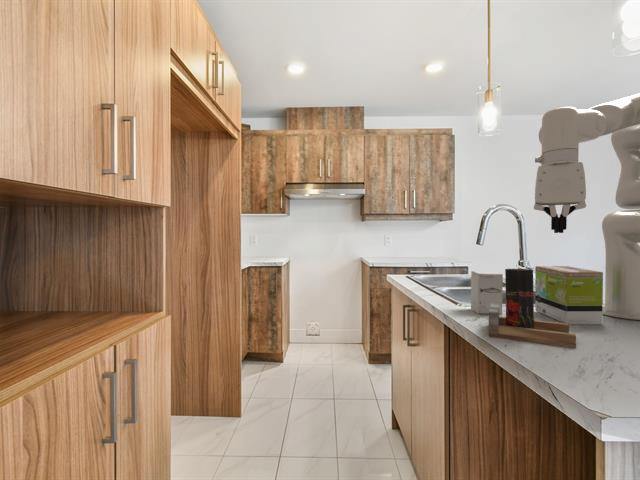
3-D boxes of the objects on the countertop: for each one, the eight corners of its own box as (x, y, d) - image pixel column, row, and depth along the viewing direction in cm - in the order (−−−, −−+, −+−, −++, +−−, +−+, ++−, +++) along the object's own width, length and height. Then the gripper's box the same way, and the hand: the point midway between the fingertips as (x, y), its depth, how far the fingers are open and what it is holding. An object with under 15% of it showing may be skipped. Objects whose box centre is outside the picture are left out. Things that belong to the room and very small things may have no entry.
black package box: (539, 333, 80) (538, 270, 80) (514, 333, 80) (513, 270, 80) (524, 327, 85) (524, 268, 86) (501, 327, 86) (500, 268, 86)
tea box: (533, 311, 106) (534, 265, 106) (566, 312, 105) (567, 265, 105) (565, 324, 91) (566, 270, 91) (604, 325, 90) (605, 270, 90)
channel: (490, 324, 91) (490, 303, 91) (567, 333, 83) (568, 310, 83) (488, 336, 81) (488, 312, 80) (576, 348, 72) (576, 321, 72)
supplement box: (477, 314, 103) (477, 273, 103) (470, 308, 110) (470, 270, 110) (502, 315, 102) (503, 273, 101) (494, 309, 109) (494, 271, 109)
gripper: (525, 160, 84) (524, 233, 84) (601, 153, 77) (600, 232, 77) (523, 165, 91) (523, 233, 91) (594, 159, 83) (593, 232, 84)
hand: (558, 232), depth 84 cm, fingers closed
